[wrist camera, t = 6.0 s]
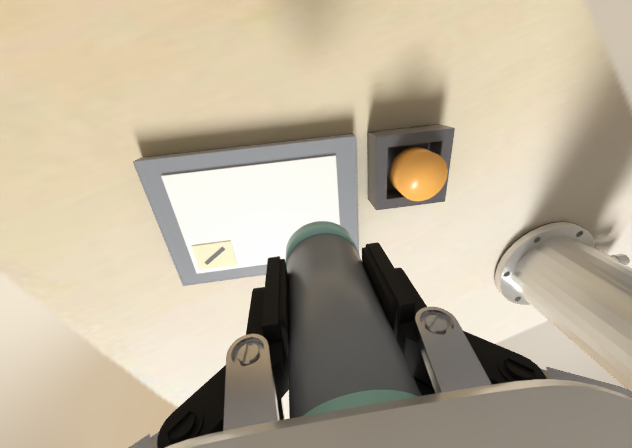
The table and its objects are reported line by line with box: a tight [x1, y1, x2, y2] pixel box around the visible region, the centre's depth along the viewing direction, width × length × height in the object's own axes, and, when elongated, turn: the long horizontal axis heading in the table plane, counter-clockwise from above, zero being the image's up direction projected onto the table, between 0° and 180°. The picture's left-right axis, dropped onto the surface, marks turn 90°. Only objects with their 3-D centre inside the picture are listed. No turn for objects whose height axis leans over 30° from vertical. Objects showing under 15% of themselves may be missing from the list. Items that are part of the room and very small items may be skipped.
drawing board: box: [133, 134, 359, 286], centre depth 28 cm, size 20×14×2 cm
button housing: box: [368, 124, 455, 210], centre depth 27 cm, size 7×7×3 cm
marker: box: [286, 221, 422, 418], centre depth 10 cm, size 4×4×11 cm
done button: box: [389, 147, 448, 201], centre depth 25 cm, size 4×4×2 cm
